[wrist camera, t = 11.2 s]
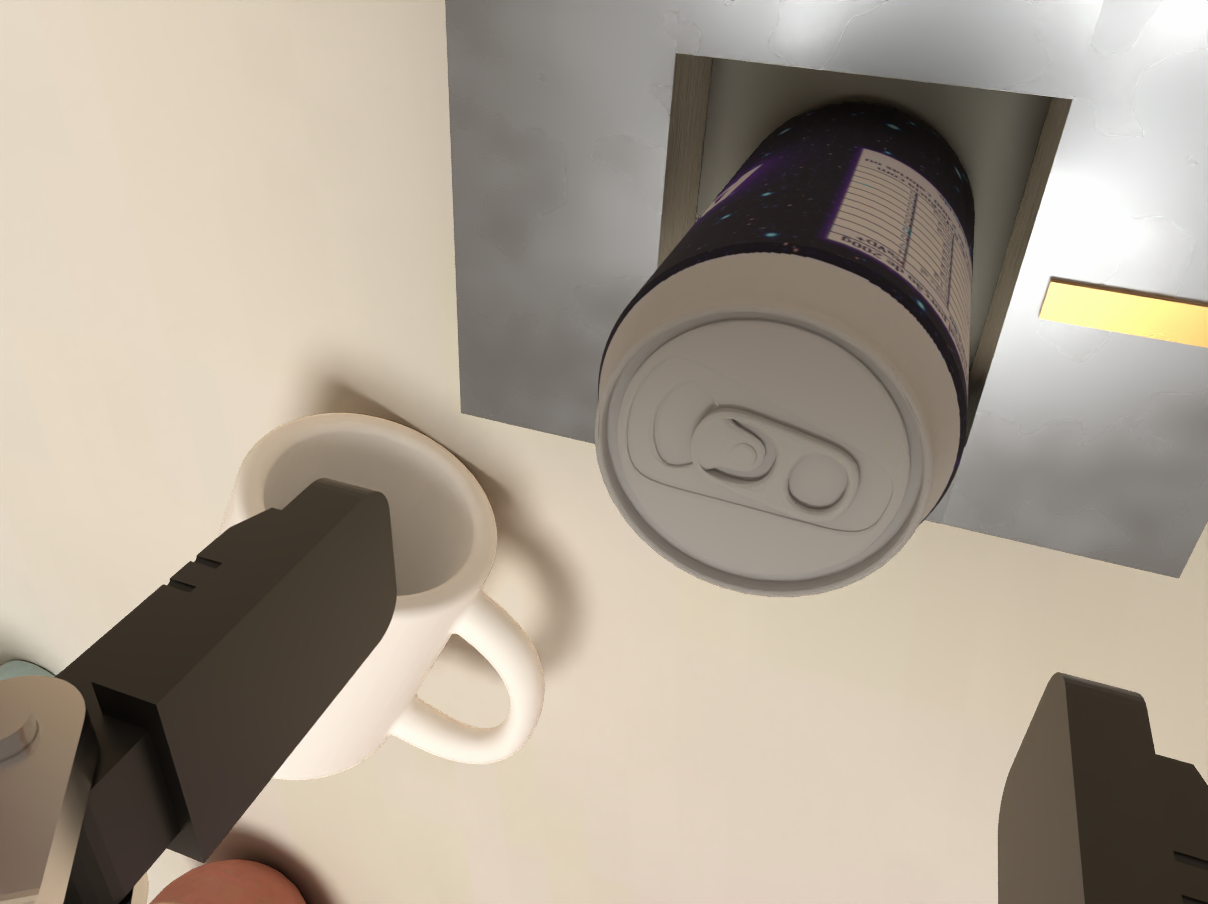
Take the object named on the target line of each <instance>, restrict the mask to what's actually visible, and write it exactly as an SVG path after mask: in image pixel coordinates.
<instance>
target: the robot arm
mask: <svg viewBox="0 0 1208 904" xmlns="http://www.w3.org/2000/svg"><path fill="white" fill-rule="evenodd" d="M396 599H397V585H396V574H395V563H394V552H393V541H392V530H391V519H390V509H389V504H388V500H387V498H386V497H385V495H384V494H383V493H381V492H378V491H375V490H371V489H367V488H363V487H359V486H356V485H352V484H348V483H344V482H340V481H337V480H333V479H329V478H320V479H318V480H316V481H314V482H313V483H311V484H310V485H309V486H308V487H307V488H306V489H304V490H303V491H302V492H301V493H300V494H299V495H298V496H297V497H296V498H294V499H293V500H292V501H291V502H290V503H289V504H288V505H287V506H286V507H284V508H283V509H282V510H279V509H276V508H270V509H268V510H265V511H263V512H261V513H259V514H257V515H255V516H253V517H251V518H248V519H246V520H244V521H242V522H240V523H238V524H236V525H234V526H231V527H229V528H228V529H227V530H226V531H225V532H223V533H222V534H221V535H220V536H219V537H218V538H216V539H215V540H214V541H213V542H212V543H211V544H209V545H208V546H207V547H206V548H205V549H204V550H202V551H201V552H200V553H199V554H198V555H197V558H196V561H195V562H192V561H190V562H189V563H187V564H186V565H185V566H184V567H183V568H182V569H180V570H179V571H178V572H177V573H176V574H175V575H173V576H172V577H171V578H170V582H169V584H168V585H162V586H161V587H159V588H158V589H157V590H156V591H155V592H154V593H153V594H151V595H150V596H149V597H148V598H147V599H146V600H144V601H143V602H142V603H141V604H140V605H139V606H137V607H136V608H135V609H134V610H133V611H132V612H130V613H129V614H128V615H127V616H126V617H125V618H123V619H122V620H121V621H120V622H119V623H118V624H116V625H115V626H114V627H113V628H112V629H111V630H109V631H108V632H107V633H106V634H105V635H104V636H103V637H101V638H100V639H99V640H98V641H97V642H96V643H94V644H93V645H92V646H91V647H90V648H89V649H87V650H86V651H85V652H84V653H83V654H82V655H80V656H79V657H78V658H77V659H76V660H75V661H73V662H72V663H71V664H70V665H69V666H68V667H66V668H65V669H64V670H63V671H62V672H60V673H59V674H58V675H56V676H55V677H50V676H40V675H30V676H19V677H14V678H8V679H4V680H1V681H0V904H147V898H148V888H149V883H148V877H147V873H146V872H147V870H148V869H149V868H150V867H151V866H152V865H153V863H154V862H155V861H156V860H157V859H158V857H159V856H160V855H161V854H162V853H163V852H164V850H165V849H166V848H167V849H170V850H172V851H175V852H177V853H180V854H182V855H185V856H187V857H190V858H192V859H195V860H197V861H200V862H202V863H205V861H206V860H207V859H208V858H209V856H210V855H211V854H212V853H213V851H214V850H215V849H216V848H217V846H218V845H219V844H220V843H221V841H222V840H223V839H224V838H225V836H226V835H227V834H228V833H229V831H230V830H231V829H232V827H233V826H234V825H235V824H236V822H237V821H238V820H239V819H240V817H241V816H242V815H243V814H244V812H245V811H246V810H247V809H248V807H249V806H250V805H251V804H252V802H253V801H254V800H255V799H256V797H257V796H258V795H259V793H260V792H261V791H262V790H263V788H264V787H265V786H266V785H267V783H268V782H269V781H270V780H271V778H272V777H273V776H274V775H275V773H276V772H277V771H278V770H279V768H280V767H281V766H282V765H283V763H284V762H285V761H286V759H287V758H288V757H289V756H290V754H291V753H292V752H293V751H294V749H295V748H296V747H297V746H298V744H299V743H300V742H301V741H302V739H303V738H304V737H305V736H306V734H307V733H308V732H309V731H310V729H311V728H312V727H313V726H314V724H315V723H316V722H317V720H318V719H319V718H320V717H321V715H322V714H323V713H324V712H325V710H326V709H327V708H328V707H329V705H330V704H331V703H332V702H333V700H334V699H335V698H336V697H337V695H338V694H339V693H340V692H341V690H342V689H343V688H344V686H345V685H346V684H347V683H348V681H349V680H350V679H351V678H352V676H353V675H354V674H355V673H356V671H357V670H358V669H359V668H360V666H361V665H362V664H363V663H364V661H365V660H366V659H367V658H368V656H369V655H370V654H371V652H372V651H373V650H374V649H375V647H376V646H377V645H378V644H379V642H380V641H381V640H382V638H383V636H384V635H385V633H386V631H387V629H388V627H389V625H390V622H391V620H392V617H393V614H394V610H395V605H396ZM998 904H1208V785H1207V784H1206V782H1205V781H1204V779H1203V778H1202V777H1201V775H1200V774H1199V772H1198V771H1197V769H1196V768H1195V766H1194V765H1193V764H1189V763H1186V762H1182V761H1178V760H1175V759H1171V758H1167V757H1164V756H1160V755H1157V754H1155V750H1154V744H1153V739H1152V734H1151V728H1150V723H1149V717H1148V712H1147V707H1146V703H1145V701H1144V699H1143V697H1142V696H1141V695H1140V694H1139V693H1136V692H1132V691H1128V690H1124V689H1121V688H1117V687H1113V686H1109V685H1105V684H1102V683H1098V682H1094V681H1090V680H1086V679H1082V678H1079V677H1075V676H1071V675H1067V674H1063V673H1060V672H1058V673H1055V674H1054V675H1053V676H1052V677H1051V679H1050V681H1049V682H1048V684H1047V687H1046V689H1045V691H1044V693H1043V696H1042V698H1041V700H1040V702H1039V705H1038V707H1037V709H1036V712H1035V714H1034V716H1033V719H1032V721H1031V723H1030V725H1029V728H1028V730H1027V732H1026V735H1025V737H1024V739H1023V741H1022V744H1021V746H1020V748H1019V751H1018V753H1017V755H1016V758H1015V760H1014V762H1013V764H1012V767H1011V769H1010V772H1009V774H1008V777H1007V780H1006V784H1005V788H1004V792H1003V796H1002V801H1001V807H1000V814H999V823H998Z"/></svg>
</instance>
